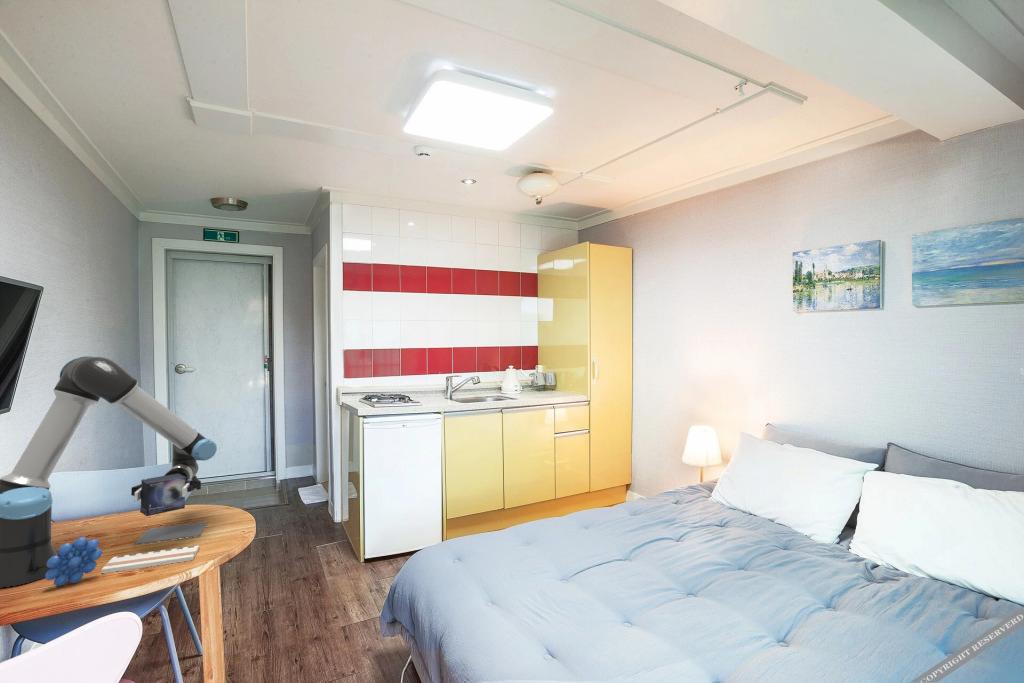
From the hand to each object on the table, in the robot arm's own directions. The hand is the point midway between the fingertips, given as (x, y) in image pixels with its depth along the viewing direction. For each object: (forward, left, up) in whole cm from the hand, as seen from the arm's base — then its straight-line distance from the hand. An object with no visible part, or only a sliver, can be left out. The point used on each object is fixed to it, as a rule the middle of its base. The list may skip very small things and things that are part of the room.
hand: (160, 494), depth 152 cm
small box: (0, +4, -6) cm, 7 cm away
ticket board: (0, -7, -18) cm, 19 cm away
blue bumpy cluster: (-16, -14, -18) cm, 28 cm away
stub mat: (0, +17, -18) cm, 24 cm away
